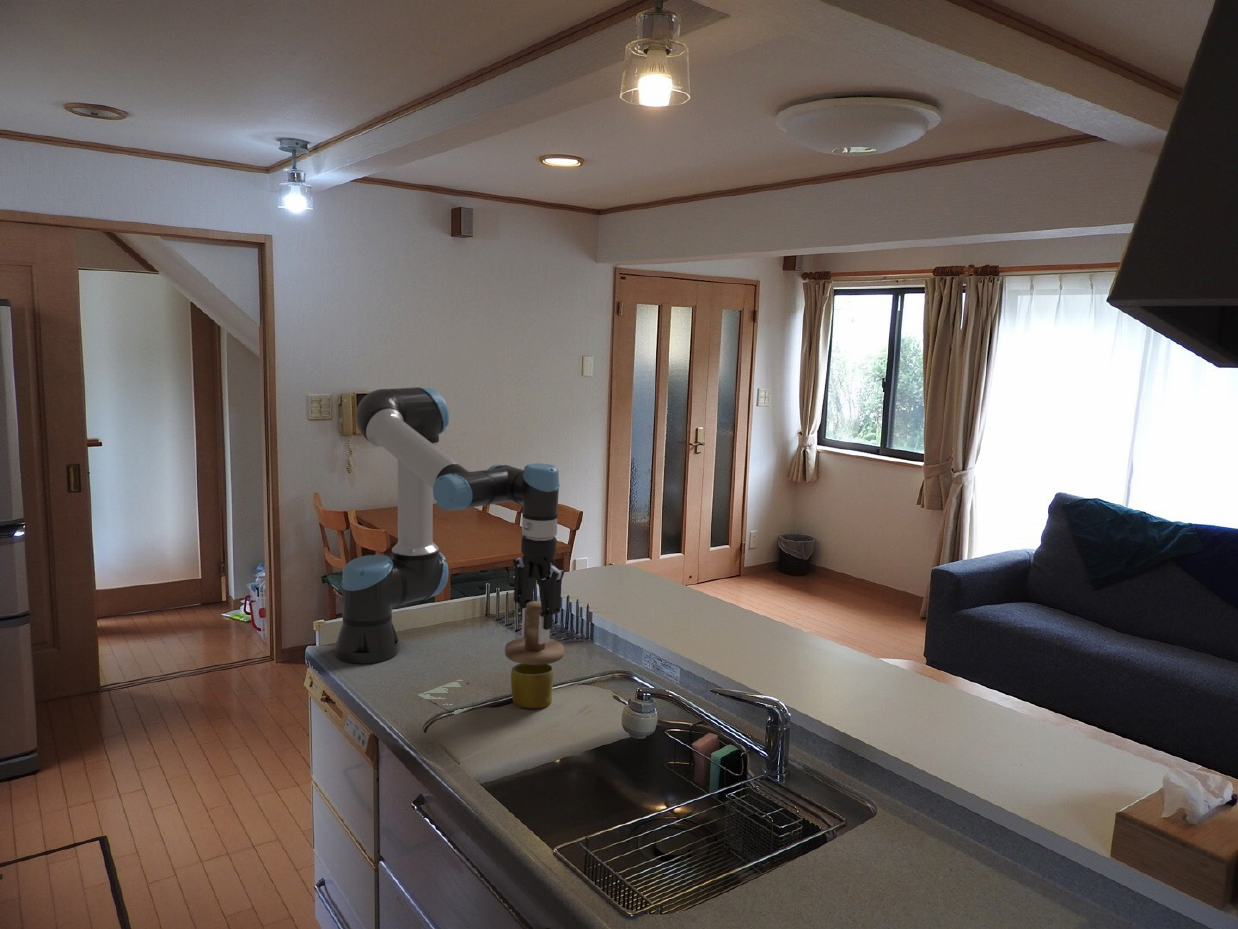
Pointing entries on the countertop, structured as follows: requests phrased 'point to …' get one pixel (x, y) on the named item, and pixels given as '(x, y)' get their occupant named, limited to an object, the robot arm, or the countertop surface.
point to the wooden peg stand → (533, 642)
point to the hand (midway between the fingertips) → (535, 638)
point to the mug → (532, 685)
